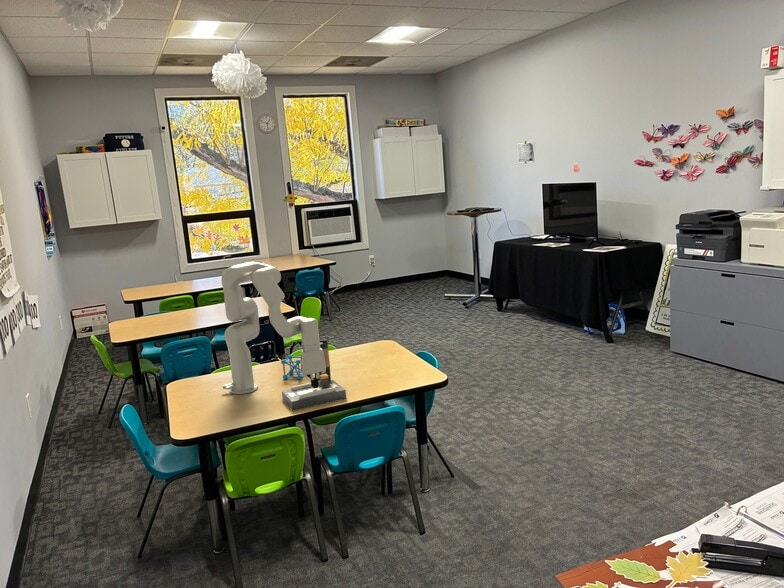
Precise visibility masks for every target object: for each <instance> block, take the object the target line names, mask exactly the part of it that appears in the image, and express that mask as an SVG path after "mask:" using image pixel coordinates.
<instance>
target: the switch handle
mask: <svg viewBox="0 0 784 588" xmlns="http://www.w3.org/2000/svg"><path fill="white" fill-rule="evenodd" d="M319 378H320V387H321V388H322V389H324V388H329V380H328V378H329V377H328V375H327V374H322V375H320V377H319Z"/></svg>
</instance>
